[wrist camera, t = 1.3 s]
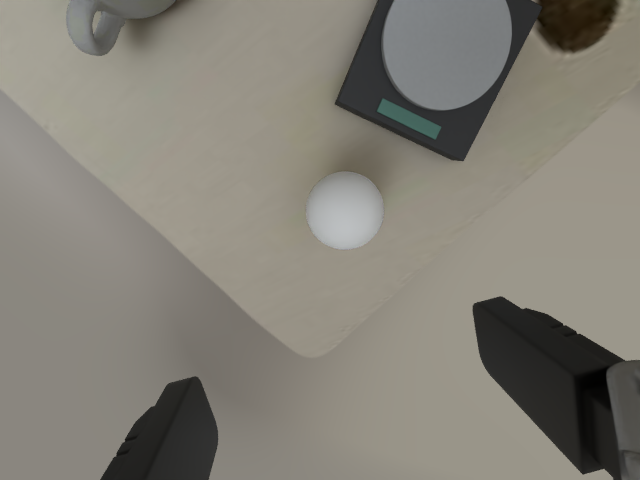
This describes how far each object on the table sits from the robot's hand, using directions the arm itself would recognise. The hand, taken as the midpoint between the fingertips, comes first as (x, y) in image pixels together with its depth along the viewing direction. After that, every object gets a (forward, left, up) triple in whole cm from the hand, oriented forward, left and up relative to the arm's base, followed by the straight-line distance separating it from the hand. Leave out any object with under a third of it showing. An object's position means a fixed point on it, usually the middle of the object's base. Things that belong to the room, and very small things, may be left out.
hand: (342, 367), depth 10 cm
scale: (+5, +17, -26) cm, 32 cm away
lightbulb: (+2, +2, -27) cm, 27 cm away
